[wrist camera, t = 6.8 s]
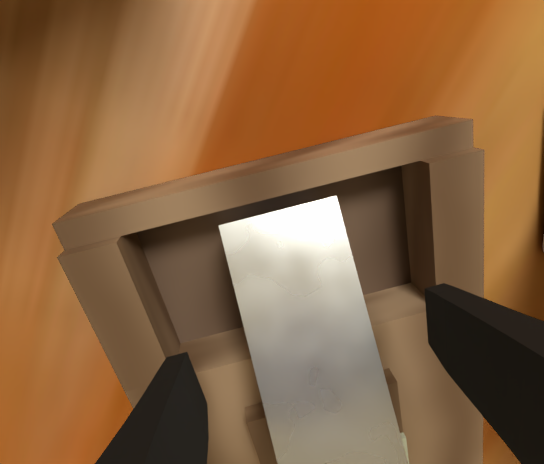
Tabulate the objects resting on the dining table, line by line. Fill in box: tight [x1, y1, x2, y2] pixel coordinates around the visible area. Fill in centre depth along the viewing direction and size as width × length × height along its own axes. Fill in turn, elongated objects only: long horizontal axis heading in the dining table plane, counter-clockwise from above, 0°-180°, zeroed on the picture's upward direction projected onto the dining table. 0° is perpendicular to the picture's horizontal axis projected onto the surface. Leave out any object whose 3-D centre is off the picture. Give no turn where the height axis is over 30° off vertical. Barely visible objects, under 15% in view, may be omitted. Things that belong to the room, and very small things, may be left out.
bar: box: [218, 196, 408, 464], centre depth 13 cm, size 4×11×3 cm, turn 13°
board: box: [52, 116, 484, 464], centre depth 17 cm, size 15×24×4 cm, turn 13°
